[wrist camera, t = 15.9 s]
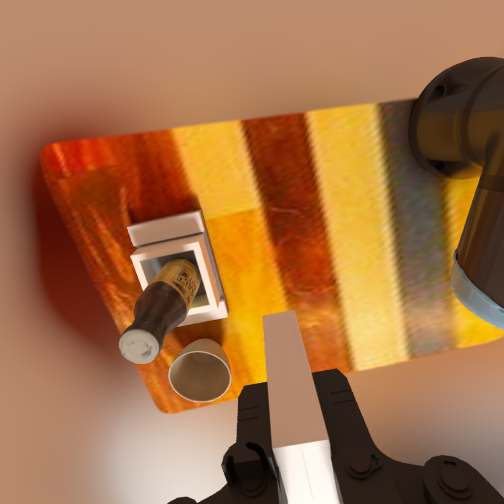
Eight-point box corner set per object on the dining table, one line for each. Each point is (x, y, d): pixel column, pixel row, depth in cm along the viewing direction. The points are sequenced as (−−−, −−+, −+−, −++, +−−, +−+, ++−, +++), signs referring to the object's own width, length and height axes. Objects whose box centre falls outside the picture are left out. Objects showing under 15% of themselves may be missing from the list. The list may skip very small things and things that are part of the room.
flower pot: (237, 329, 54) (235, 356, 48) (229, 375, 58) (226, 405, 51) (180, 322, 54) (170, 347, 47) (175, 368, 57) (166, 398, 50)
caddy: (201, 208, 47) (195, 216, 42) (229, 309, 53) (226, 328, 48) (132, 223, 48) (118, 233, 43) (167, 321, 54) (158, 341, 49)
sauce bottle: (206, 287, 50) (179, 374, 31) (168, 293, 50) (120, 382, 32) (197, 250, 48) (163, 318, 29) (157, 256, 48) (99, 328, 29)
